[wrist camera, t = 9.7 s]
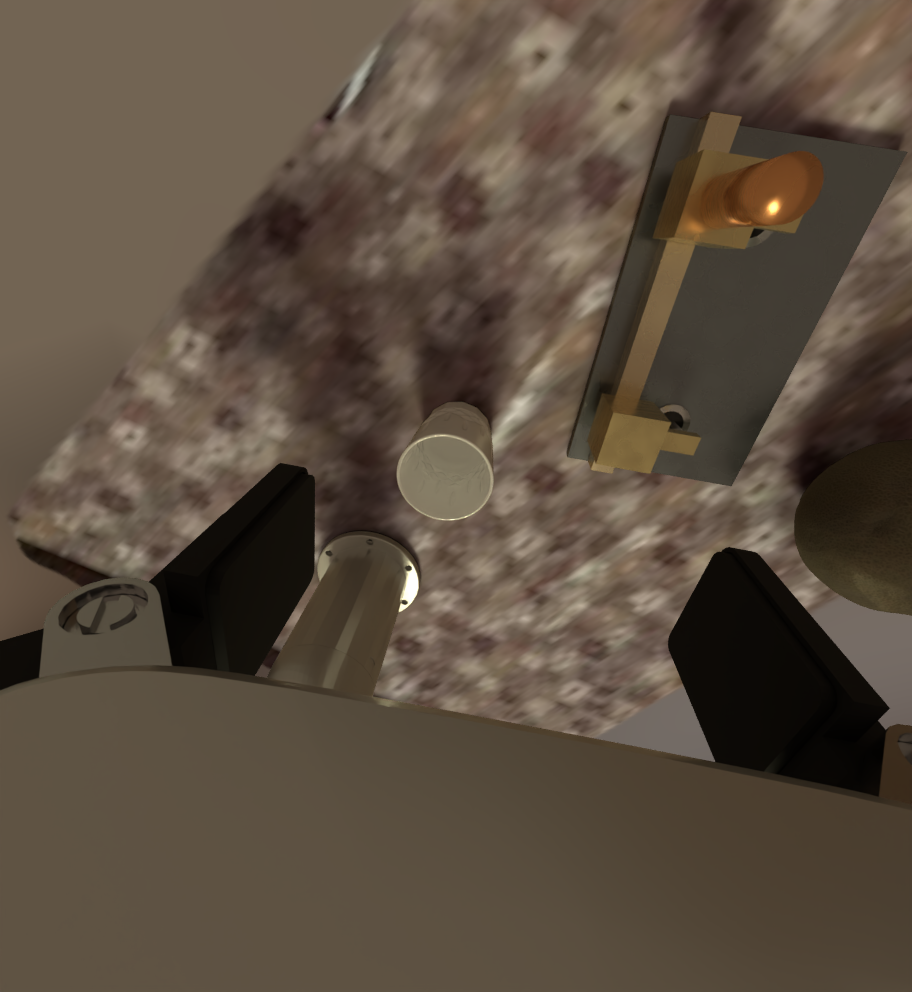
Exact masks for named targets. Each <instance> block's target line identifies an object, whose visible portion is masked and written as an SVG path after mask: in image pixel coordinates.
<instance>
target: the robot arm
mask: <svg viewBox="0 0 912 992" xmlns="http://www.w3.org/2000/svg"><path fill="white" fill-rule="evenodd" d="M314 553H315V479H314V476H313V475H308V472H307V469H306V468H304V467H299V466H294V465H288V464H283V463H280V464H278V465H277V466H276V467H275V468H274V469H272V470H271V471H270V472H269V473H268V474H267V475H266V476H265V477H264V478H263V479H262V480H260V481H259V482H258V483H257V484H256V485H255V486H254V487H253V488H252V489H251V490H250V491H248V492H247V493H246V494H245V495H244V496H243V497H242V498H241V499H240V500H239V501H238V502H236V503H235V504H234V505H233V506H232V507H231V508H230V509H229V510H228V511H227V512H226V513H224V514H223V515H221V516H220V517H219V518H218V519H217V520H216V521H215V522H214V523H213V524H212V525H211V526H209V527H208V528H207V529H206V530H205V531H204V532H203V533H202V534H201V535H200V536H199V537H197V538H196V539H195V540H194V541H193V542H192V543H191V544H190V545H189V546H188V547H186V548H185V549H184V550H183V551H182V552H181V553H180V554H179V555H178V556H177V557H176V558H174V559H173V560H172V561H171V562H170V563H169V564H168V565H167V566H166V567H165V568H164V569H162V570H161V571H160V572H159V573H158V574H157V575H156V576H155V577H154V578H153V579H151V580H150V581H149V582H148V581H145V580H141V579H137V578H113V579H106V580H102V581H98V582H95V583H91V584H88V585H85V586H83V587H81V588H79V589H77V590H75V591H73V592H71V593H69V594H68V595H66V596H65V597H63V598H62V599H60V600H59V601H58V602H57V603H56V604H55V605H54V606H53V607H52V609H50V611H49V612H48V614H47V617H46V620H45V622H44V629H41V630H38V631H34V632H30V633H27V634H23V635H20V636H17V637H13V638H10V639H6V640H3V641H0V992H912V726H910V725H901V724H896V725H893V726H890V727H888V729H886V730H885V729H884V728H883V726H882V725H881V724H880V723H879V722H878V720H879V719H880V718H881V717H882V716H883V714H884V713H886V712H887V711H888V710H889V707H888V706H887V704H886V703H885V702H884V701H883V700H882V698H881V697H880V696H879V695H878V694H877V693H876V692H875V691H874V689H873V688H872V687H871V686H870V685H869V684H868V682H867V681H866V680H865V679H864V677H863V676H862V675H861V674H860V673H859V671H858V670H857V669H856V668H855V667H854V666H853V664H852V663H851V662H850V661H849V660H848V659H847V657H846V656H845V655H844V654H843V653H842V652H841V650H840V649H839V648H838V647H837V646H836V644H835V643H834V642H833V641H832V640H831V639H830V637H829V636H828V635H827V634H826V633H825V632H824V630H823V629H822V628H821V627H820V626H819V625H818V623H817V622H816V621H815V620H814V619H813V618H812V616H811V615H810V614H809V613H808V612H807V610H806V609H805V608H804V607H803V606H802V605H801V603H800V602H799V601H798V600H797V599H796V598H795V596H794V595H793V594H792V593H791V592H790V591H789V589H788V588H787V587H786V586H785V585H784V583H783V582H782V581H781V580H780V579H779V578H778V576H777V575H776V574H775V573H774V572H773V571H772V569H771V568H770V567H769V566H768V565H767V564H766V562H765V561H764V560H763V559H762V558H761V556H760V555H759V554H757V553H756V552H752V551H747V550H741V549H736V548H731V547H728V548H725V549H724V550H722V552H717V553H715V554H714V555H713V557H712V558H711V560H710V562H709V564H708V566H707V568H706V569H705V571H704V573H703V575H702V577H701V578H700V580H699V582H698V584H697V586H696V588H695V589H694V591H693V593H692V595H691V597H690V599H689V600H688V602H687V604H686V606H685V608H684V610H683V611H682V613H681V615H680V617H679V619H678V621H677V622H676V624H675V626H674V628H673V630H672V632H671V633H670V636H669V640H668V648H669V651H670V654H671V656H672V659H673V661H674V663H675V666H676V668H677V671H678V673H679V675H680V678H681V680H682V683H683V685H684V687H685V690H686V692H687V695H688V697H689V699H690V702H691V704H692V706H693V709H694V711H695V713H696V716H697V719H698V721H699V723H700V726H701V728H702V731H703V733H704V735H705V738H706V740H707V742H708V745H709V747H710V750H711V752H712V755H713V757H714V759H715V762H711V761H706V760H702V759H696V758H691V757H686V756H681V755H676V754H671V753H666V752H661V751H656V750H651V749H646V748H641V747H636V746H630V745H625V744H620V743H615V742H609V741H605V740H599V739H594V738H589V737H584V736H579V735H574V734H568V733H563V732H558V731H553V730H548V729H542V728H537V727H532V726H527V725H521V724H516V723H511V722H506V721H500V720H495V719H490V718H485V717H479V716H474V715H469V714H464V713H458V712H453V711H447V710H442V709H437V708H431V707H426V706H421V705H415V704H410V703H404V702H399V701H394V700H388V699H383V698H378V697H373V693H374V690H375V687H376V683H377V680H378V677H379V674H380V670H381V667H382V664H383V661H384V657H385V654H386V651H387V648H388V644H389V641H390V638H391V635H392V631H393V628H394V625H395V622H396V618H397V615H398V612H401V611H403V610H404V609H406V608H407V607H408V606H409V605H410V604H411V603H412V602H413V601H414V599H415V598H416V596H417V594H418V590H419V587H420V571H419V568H418V566H417V563H416V561H415V560H414V558H413V556H412V555H411V554H410V553H409V552H408V551H407V550H406V549H405V548H404V547H403V546H402V545H400V544H399V543H398V542H396V541H394V540H393V539H391V538H389V537H386V536H384V535H381V534H378V533H373V532H366V531H355V532H348V533H345V534H341V535H339V536H337V537H336V538H334V539H332V540H331V541H330V542H329V543H328V544H327V545H326V546H325V548H324V549H323V551H322V553H321V555H320V556H319V559H318V564H317V573H318V577H319V580H320V583H319V585H318V586H317V588H316V590H315V592H314V593H313V595H312V597H311V599H310V600H309V602H308V604H307V606H306V608H305V609H304V611H303V613H302V615H301V616H300V618H299V620H298V622H297V623H296V625H295V627H294V629H293V630H292V632H291V634H290V636H289V638H288V639H287V641H286V643H285V645H284V646H283V648H282V650H281V652H280V654H279V655H278V657H277V659H276V661H275V662H274V664H273V666H272V668H271V670H270V672H269V674H268V676H267V678H264V677H257V676H255V674H256V673H257V671H258V669H259V668H260V666H261V664H262V663H263V661H264V659H265V658H266V656H267V654H268V653H269V651H270V649H271V648H272V646H273V644H274V643H275V641H276V639H277V637H278V636H279V634H280V632H281V631H282V629H283V627H284V626H285V624H286V622H287V621H288V619H289V617H290V616H291V614H292V612H293V611H294V609H295V607H296V606H297V604H298V602H299V601H300V599H301V597H302V596H303V594H304V592H305V591H306V589H307V587H308V586H309V584H310V582H311V580H312V577H313V573H314Z"/></svg>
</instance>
